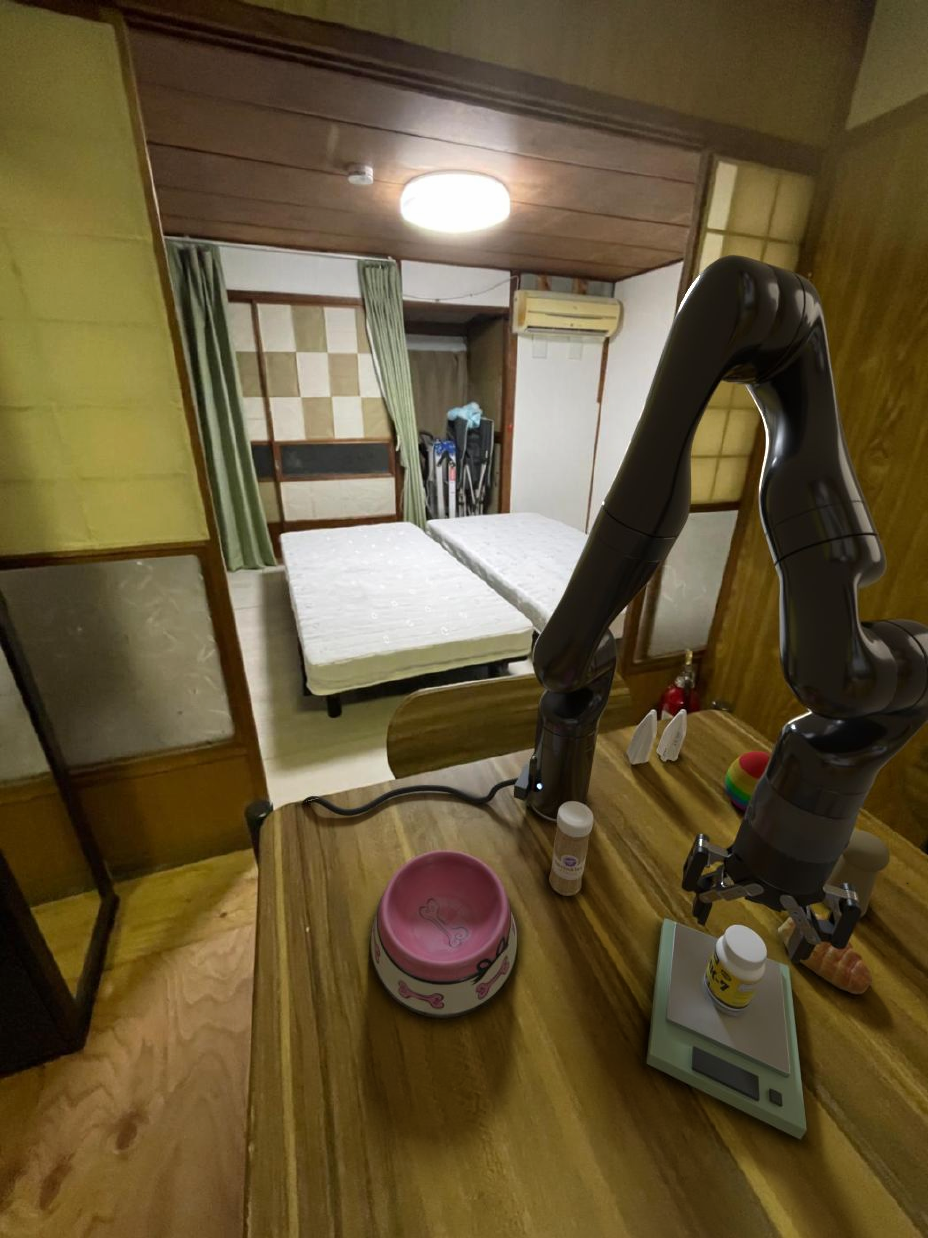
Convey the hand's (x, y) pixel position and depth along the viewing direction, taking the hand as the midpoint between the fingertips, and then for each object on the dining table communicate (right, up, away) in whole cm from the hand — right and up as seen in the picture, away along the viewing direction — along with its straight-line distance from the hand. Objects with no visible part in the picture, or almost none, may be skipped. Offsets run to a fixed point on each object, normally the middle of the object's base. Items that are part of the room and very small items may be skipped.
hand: (744, 935), depth 53 cm
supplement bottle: (0, -9, +4) cm, 10 cm away
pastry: (+15, -9, +11) cm, 21 cm away
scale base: (0, -12, +4) cm, 13 cm away
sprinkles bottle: (-15, -5, +19) cm, 25 cm away
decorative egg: (+19, +2, +33) cm, 38 cm away
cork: (+23, -6, +18) cm, 29 cm away
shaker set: (+6, +7, +42) cm, 43 cm away
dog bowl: (-32, -8, +12) cm, 35 cm away
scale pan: (0, -9, +5) cm, 11 cm away
